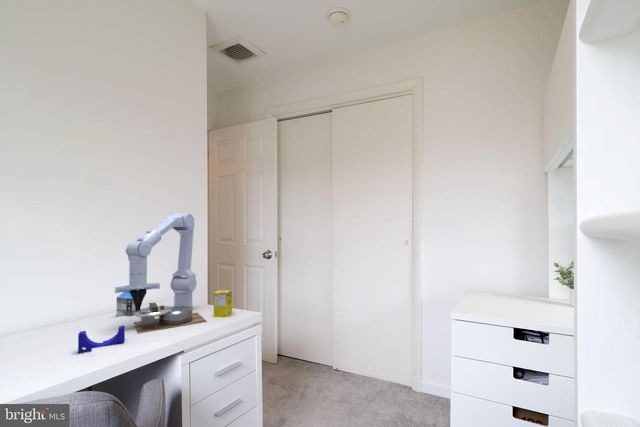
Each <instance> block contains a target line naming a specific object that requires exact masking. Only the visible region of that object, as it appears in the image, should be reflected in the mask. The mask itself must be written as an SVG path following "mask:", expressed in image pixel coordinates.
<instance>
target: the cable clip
mask: <svg viewBox="0 0 640 427" xmlns="http://www.w3.org/2000/svg"><path fill="white" fill-rule="evenodd" d="M125 328H126V327H125V325H119V326H118V331H117V333H116V334H115V335H114V336H112V337H110V338H109V339H106V340H103V341H102V342H95V341H93V340H91V339H90V338H89V336H88V335H87V330H82V331H79V332H78V335H77V338H78V339H77V340H78V341H77V354H85V353H92V351H93V349H97V348H103V347H108V346H116V345H117V344H118V343H121V345H123V344H125V340H126V339H125V338H126V334H125V331H126V329H125ZM84 348H85V349H84Z"/></svg>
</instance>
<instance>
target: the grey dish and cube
mask: <svg viewBox="0 0 640 427" xmlns="http://www.w3.org/2000/svg"><path fill="white" fill-rule="evenodd" d="M170 307H171V308H172V311H171V312H170V313H167V314H164V315H160V316H158V319H159V324H160V325H163V326H176V325H182V324H186V323H189V322H191V321H192V313H193V306H192V307H190V306H174V305H173V306H170ZM154 319H155V316H153V317H140V321H141V327H142V328H148V327H154Z"/></svg>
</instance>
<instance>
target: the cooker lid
mask: <svg viewBox="0 0 640 427" xmlns="http://www.w3.org/2000/svg"><path fill="white" fill-rule="evenodd" d="M148 304H149V305H148V306H147V307H143V308H140V311H135V315H134V316H135V317H139V318H141V317H153V316H154V317H159V316H160V315H164V314H167V313H170V312H171V311H172V308H171V307H172V306H168V305H167V306H166V305H158V304H157V303H156V302H149V303H148Z"/></svg>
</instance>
